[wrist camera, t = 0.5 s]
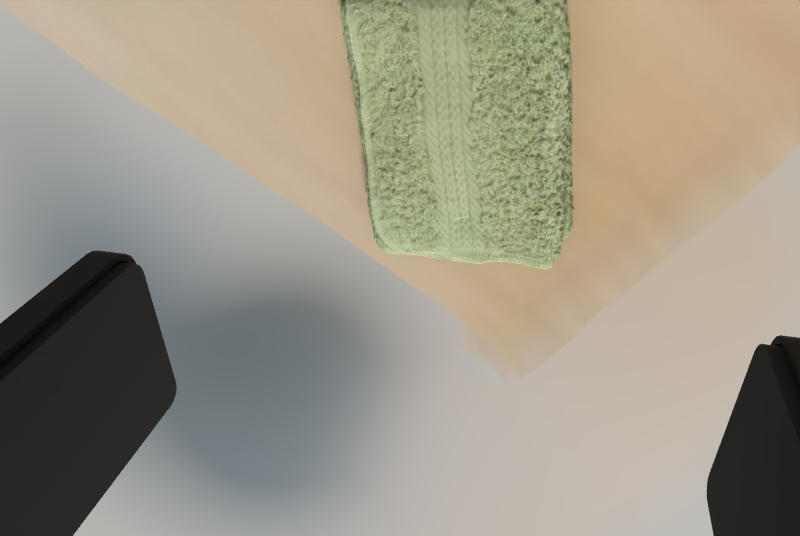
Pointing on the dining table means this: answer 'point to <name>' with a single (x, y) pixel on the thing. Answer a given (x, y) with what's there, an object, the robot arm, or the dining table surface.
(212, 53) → the dining table surface
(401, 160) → the washcloth
